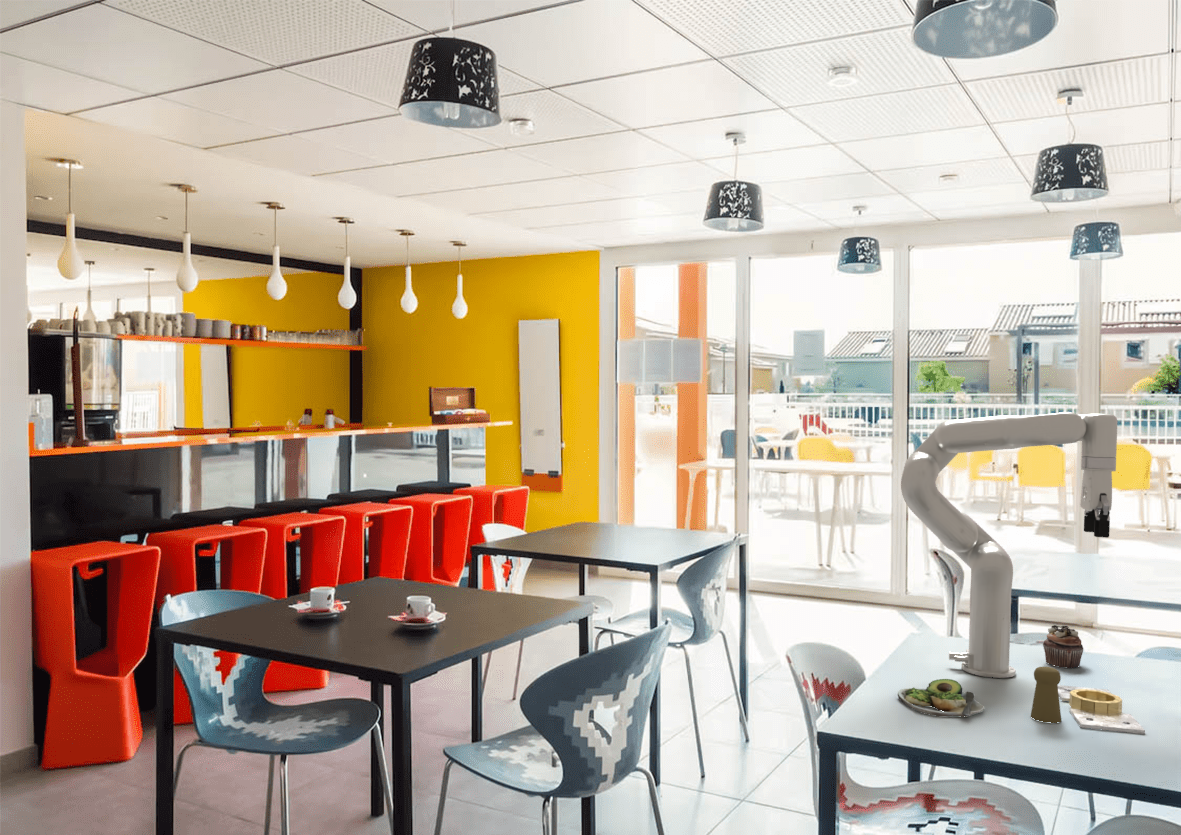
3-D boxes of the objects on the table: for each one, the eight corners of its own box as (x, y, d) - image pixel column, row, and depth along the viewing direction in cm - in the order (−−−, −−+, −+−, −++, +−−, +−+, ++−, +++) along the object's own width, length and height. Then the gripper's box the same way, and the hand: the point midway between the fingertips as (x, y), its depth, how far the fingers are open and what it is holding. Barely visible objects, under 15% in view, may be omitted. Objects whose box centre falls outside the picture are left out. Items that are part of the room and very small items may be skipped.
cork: (1059, 725, 203) (1061, 673, 203) (1028, 719, 206) (1030, 668, 206) (1063, 717, 208) (1064, 667, 208) (1032, 712, 211) (1034, 662, 211)
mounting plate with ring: (1080, 727, 202) (1081, 713, 202) (1052, 687, 231) (1052, 675, 231) (1145, 734, 199) (1145, 719, 199) (1107, 693, 228) (1108, 680, 228)
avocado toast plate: (1005, 723, 204) (1005, 702, 204) (921, 723, 204) (922, 701, 204) (966, 696, 224) (966, 676, 224) (890, 695, 223) (890, 675, 223)
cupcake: (1091, 668, 249) (1093, 629, 249) (1058, 669, 247) (1060, 630, 247) (1066, 658, 259) (1067, 621, 259) (1034, 660, 257) (1035, 622, 257)
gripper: (1073, 461, 245) (1070, 529, 245) (1090, 465, 228) (1088, 538, 229) (1105, 463, 243) (1103, 531, 244) (1125, 467, 226) (1123, 540, 227)
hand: (1096, 534), depth 236 cm, fingers open, 9 cm apart
